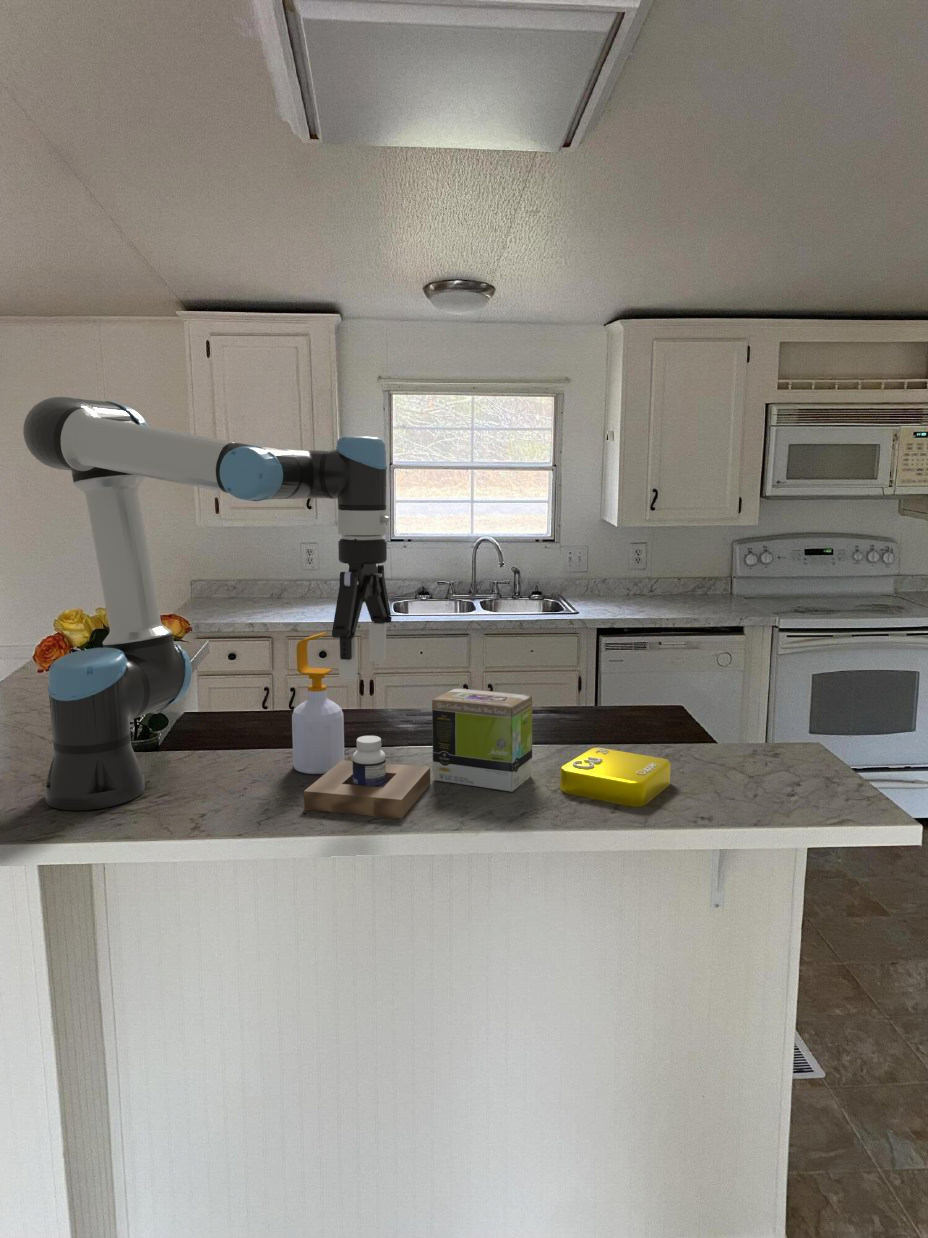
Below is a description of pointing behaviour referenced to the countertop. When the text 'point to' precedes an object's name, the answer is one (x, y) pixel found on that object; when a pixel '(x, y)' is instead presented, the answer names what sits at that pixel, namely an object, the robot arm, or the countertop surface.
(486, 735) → the tea box
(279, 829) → the countertop surface
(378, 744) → the pill bottle
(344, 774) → the socket block
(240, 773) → the countertop surface
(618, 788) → the element tile
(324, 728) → the soap bottle
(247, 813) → the countertop surface
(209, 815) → the countertop surface
